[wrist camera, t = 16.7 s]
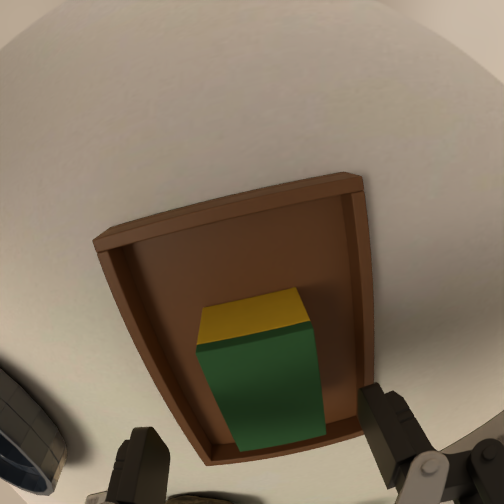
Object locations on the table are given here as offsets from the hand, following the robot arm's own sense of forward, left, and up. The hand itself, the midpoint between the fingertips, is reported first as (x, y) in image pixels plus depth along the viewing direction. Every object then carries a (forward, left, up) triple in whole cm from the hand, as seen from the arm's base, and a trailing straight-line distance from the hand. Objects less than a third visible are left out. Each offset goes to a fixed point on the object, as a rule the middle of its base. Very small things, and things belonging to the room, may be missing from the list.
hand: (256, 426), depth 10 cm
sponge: (+1, +1, -5) cm, 5 cm away
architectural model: (+34, +28, -6) cm, 44 cm away
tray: (+1, +1, -6) cm, 6 cm away
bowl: (+5, -24, -6) cm, 26 cm away
